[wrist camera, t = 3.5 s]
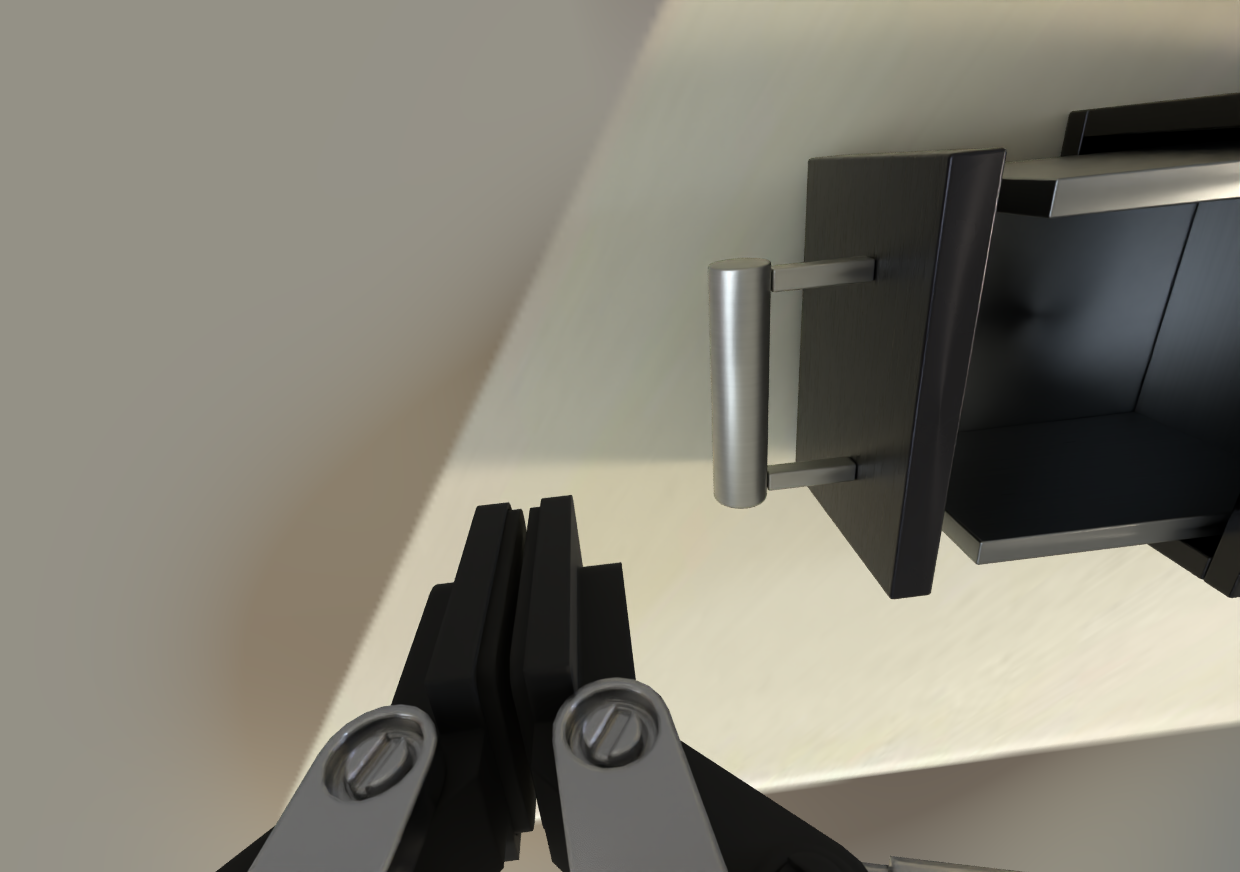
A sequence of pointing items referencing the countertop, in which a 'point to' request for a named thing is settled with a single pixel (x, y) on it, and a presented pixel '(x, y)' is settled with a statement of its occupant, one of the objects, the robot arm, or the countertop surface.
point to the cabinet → (1236, 555)
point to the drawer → (997, 354)
